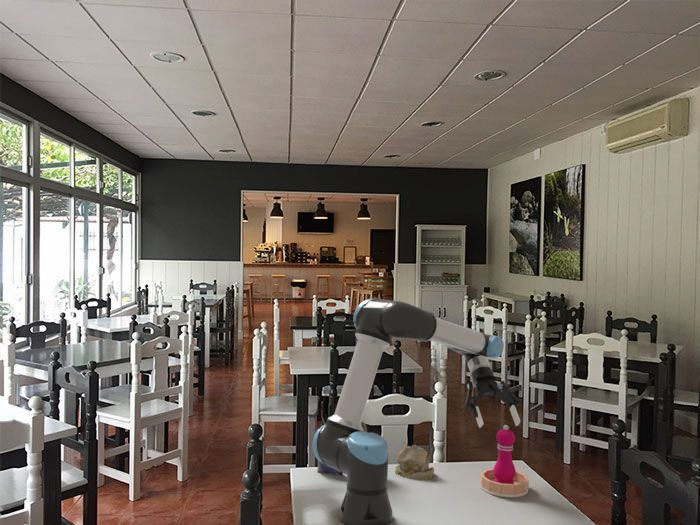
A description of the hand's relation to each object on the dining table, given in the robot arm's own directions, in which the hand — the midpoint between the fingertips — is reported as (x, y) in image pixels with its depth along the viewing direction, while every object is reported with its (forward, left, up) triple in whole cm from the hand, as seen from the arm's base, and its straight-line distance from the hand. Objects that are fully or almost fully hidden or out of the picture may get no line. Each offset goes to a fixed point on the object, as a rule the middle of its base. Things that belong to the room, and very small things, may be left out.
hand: (500, 424), depth 202 cm
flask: (-50, -28, -20) cm, 61 cm away
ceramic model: (-27, -9, -20) cm, 35 cm away
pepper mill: (+3, -3, -19) cm, 20 cm away
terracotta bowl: (+3, -3, -20) cm, 20 cm away
